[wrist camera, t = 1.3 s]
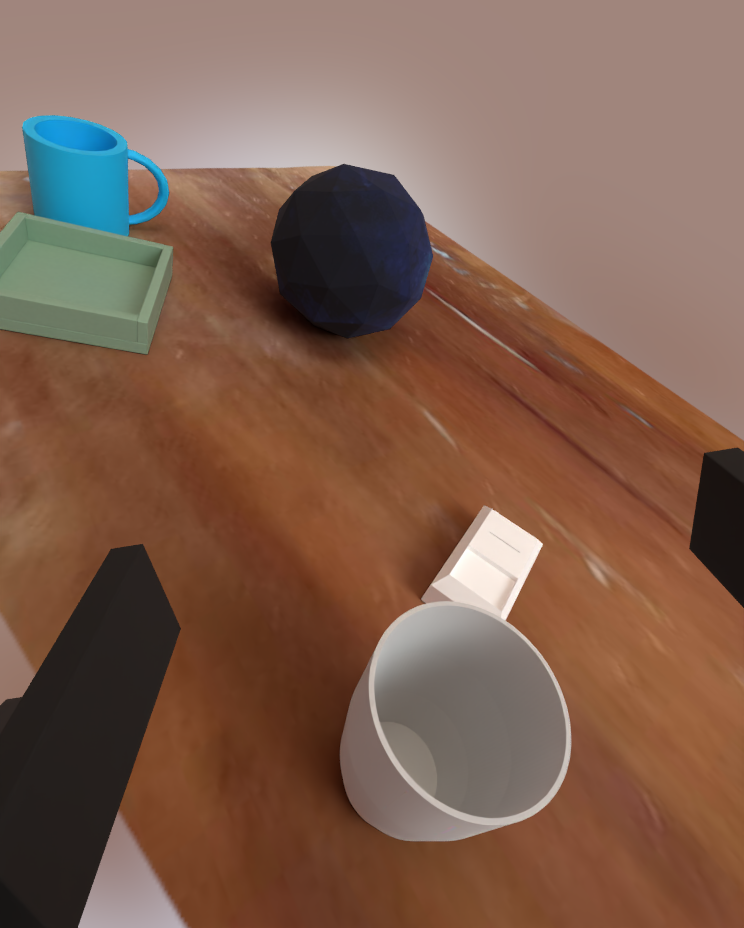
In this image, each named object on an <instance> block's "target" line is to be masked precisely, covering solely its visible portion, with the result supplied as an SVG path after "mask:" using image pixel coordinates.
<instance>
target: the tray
mask: <svg viewBox="0 0 744 928" xmlns="http://www.w3.org/2000/svg"><path fill="white" fill-rule="evenodd" d="M172 264H173V247H171V246H167V245H163V244H159V243H154V242H150V241H145V240H141V239H137V238H132V237H128V236H123V235H119V234H115V233H110V232H106V231H101V230H97V229H92V228H88V227H84V226H79V225H75V224H70V223H66V222H62V221H57V220H53V219H48V218H44V217H39V216H35V215H31V214H26V213H22V212H17V213H16V214H15V215H14V217H13V218H12V219H11V220H10V221H9V223H8V224H7V225H6V226H5V227H4V229H3V230H2V231H1V232H0V329H3V330H9V331H14V332H20V333H26V334H32V335H37V336H43V337H49V338H55V339H60V340H66V341H72V342H78V343H84V344H89V345H95V346H101V347H107V348H112V349H118V350H124V351H130V352H135V353H141V354H148V351H149V348H150V345H151V342H152V338H153V335H154V332H155V329H156V326H157V322H158V319H159V316H160V313H161V310H162V306H163V303H164V300H165V297H166V294H167V290H168V287H169V284H170V281H171V278H172Z"/></svg>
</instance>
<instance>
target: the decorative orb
mask: <svg viewBox="0 0 744 928" xmlns="http://www.w3.org/2000/svg"><path fill="white" fill-rule="evenodd" d="M271 247H272V252H273V258H274V263H275V269H276V274H277V280H278V285H279V291H280V294H281V295H282V296H283V297H284V298H285V299H286V300H287V301H288V302H289V303H290V304H291V305H292V306H294V307H295V308H296V309H297V310H298V311H299V312H300V313H301V314H302V315H303V316H304V317H305V318H306V319H308V320H309V321H310V322H311V323H312V324H313V325H314V326H316V327H319V328H322V329H324V330H327V331H329V332H332V333H335V334H337V335H340V336H342V337H345V338H351V337H356V336H361V335H365V334H370V333H374V332H379V331H384V330H388V329H390V328H391V327H392V326H393V325H394V324H395V323H396V322H397V321H398V320H399V319H400V318H401V317H402V316H403V315H404V314H405V313H406V312H408V311H409V310H410V309H411V308H412V307H413V306H414V305H415V304H416V303H417V302H418V301H419V300H420V299H421V296H422V293H423V289H424V286H425V283H426V279H427V276H428V272H429V269H430V265H431V262H432V258H433V254H432V250H431V245H430V241H429V237H428V232H427V228H426V224H425V220H424V216H423V214H422V212H421V210H420V208H419V207H418V206H417V204H416V203H415V202H414V201H413V199H412V198H411V197H410V195H409V194H408V193H407V191H406V190H405V189H404V187H403V186H402V185H401V183H400V182H399V181H398V179H397V178H396V177H395V176H394V175H391V174H387V173H382V172H378V171H373V170H369V169H364V168H360V167H355V166H351V165H346V164H342V165H340V166H337V167H334V168H332V169H329V170H327V171H324V172H322V173H319V174H316V175H314V176H311V177H310V178H309V179H308V180H307V181H306V182H304V183H303V184H302V185H301V186H300V187H299V188H297V189H296V190H295V191H294V192H293V193H292V195H291V196H290V197H289V198H288V199H287V201H286V202H285V203H284V204H283V206H282V207H281V208H280V209H279V212H278V216H277V220H276V224H275V228H274V232H273V236H272V240H271Z"/></svg>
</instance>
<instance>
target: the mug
mask: <svg viewBox="0 0 744 928" xmlns="http://www.w3.org/2000/svg"><path fill="white" fill-rule="evenodd" d="M22 129H23V136H24V143H25V151H26V158H27V165H28V173H29V180H30V187H31V194H32V202H33V209H34V215H35V216H39V217H44V218H48V219H53V220H57V221H62V222H66V223H70V224H75V225H79V226H84V227H88V228H92V229H97V230H101V231H106V232H110V233H115V234H119V235H123V236H128V235H129V225H132V224H139V223H142V222H146V221H149V220H151V219H152V218H154V217H155V216H157V215H158V214H160V212H161V211H162V210H163V208H164V207H165V206H166V204H167V200H168V196H169V189H168V183H167V180H166V178H165V176H164V175H163V173H162V171H161V169H160V168H159V167H158V166H156V165H155V164H154V163H153V162H152V161H151V160H150V159H149V158H147V157H145V156H143V155H141V154H139V153H137V152H136V151H133V150H129V149H128V148H127V141H126V140H125V139H124V138H123V137H122V136H121V135H120V134H118V133H117V132H115V131H113V130H111V129H109V128H107V127H104V126H102V125H100V124H97V123H93V122H90V121H87V120H82V119H78V118H73V117H65V116H55V115H52V116H37V117H32V118H29V119H28V120H26V121H24V122H23V127H22ZM128 159H131V160H134V161H136V162H138V163H140V164H141V165H143V166H145V167H146V168H147V169H148V170H149V171H150V172H151V173H152V174H153V175H154V177H155V179H156V180H157V182H158V187H159V193H158V197H157V200H156V201H155V202H154V204H153V205H152V206H151V207H150V208H148V209H147V210H145V211H144V212H141V213H138V214H134V215H129V201H128Z"/></svg>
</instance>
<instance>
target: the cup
mask: <svg viewBox="0 0 744 928" xmlns="http://www.w3.org/2000/svg"><path fill="white" fill-rule="evenodd" d="M570 752H571V728H570V720H569V715H568V710H567V706H566V703H565V700H564V697H563V694H562V691H561V689H560V686H559V684H558V682H557V680H556V678H555V676H554V674H553V672H552V671H551V669H550V667H549V666H548V664H547V662H546V661H545V659H544V658H543V657H542V655H541V654H540V653H539V651H538V650H537V649H536V648H535V647H534V646H533V644H532V643H531V642H530V641H529V640H528V639H527V638H526V637H525V636H524V635H523V634H522V633H521V632H519V631H518V630H517V629H516V628H515V627H513V626H512V625H511V624H509V623H508V622H506V621H505V620H503V619H502V618H500V617H498V616H497V615H495V614H493V613H491V612H489V611H487V610H484V609H482V608H479V607H476V606H473V605H470V604H465V603H460V602H451V601H441V602H432V603H427V604H424V605H420V606H418V607H415V608H413V609H411V610H409V611H407V612H406V613H404V614H403V615H401V616H400V617H399V618H397V619H396V620H395V621H394V622H393V623H392V624H391V625H390V626H389V627H388V629H387V630H386V631H385V633H384V634H383V636H382V637H381V639H380V641H379V643H378V645H377V647H376V649H375V651H374V653H373V655H372V657H371V659H370V661H369V663H368V665H367V667H366V669H365V671H364V672H363V674H362V676H361V678H360V680H359V682H358V684H357V686H356V688H355V691H354V693H353V695H352V698H351V702H350V705H349V709H348V714H347V718H346V722H345V726H344V730H343V734H342V738H341V745H340V765H341V772H342V777H343V782H344V787H345V790H346V794H347V796H348V798H349V801H350V803H351V804H352V806H353V808H354V809H355V810H356V812H357V813H358V814H359V815H360V816H361V817H362V818H363V819H364V820H365V821H366V822H367V823H369V824H370V825H372V826H373V827H375V828H377V829H378V830H380V831H381V832H383V833H385V834H387V835H389V836H391V837H394V838H397V839H401V840H406V841H454V840H460V839H464V838H467V837H471V836H474V835H477V834H480V833H484V832H487V831H490V830H493V829H497V828H500V827H503V826H506V825H509V824H513V823H516V822H519V821H522V820H524V819H527V818H529V817H531V816H532V815H534V814H536V813H537V812H539V811H540V810H541V809H542V808H544V807H545V806H546V805H547V804H548V803H549V802H550V801H551V799H552V798H553V797H554V796H555V794H556V793H557V791H558V790H559V788H560V786H561V784H562V782H563V780H564V777H565V774H566V772H567V768H568V764H569V759H570Z"/></svg>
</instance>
